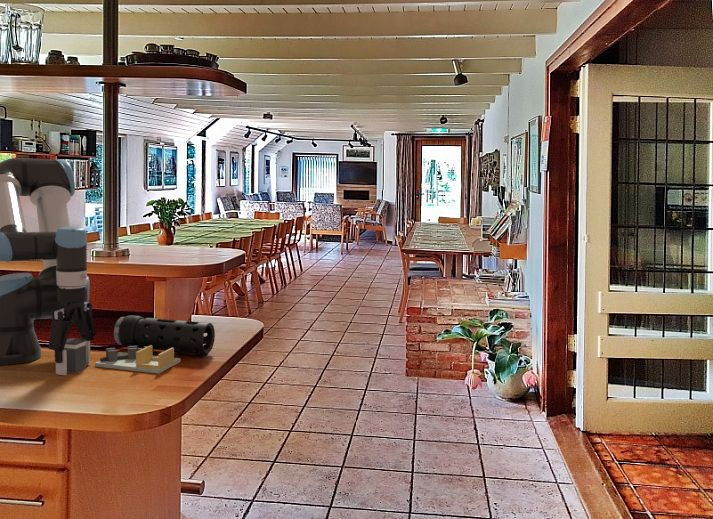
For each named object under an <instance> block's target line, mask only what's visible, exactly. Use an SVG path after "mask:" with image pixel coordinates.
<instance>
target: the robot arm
mask: <svg viewBox="0 0 713 519" xmlns="http://www.w3.org/2000/svg"><path fill="white" fill-rule="evenodd" d="M75 190H76V182H75V176H74V171H73V169H72V166H71V164H70V163H69V162H68V161H67V160H64V159H57V158H49V159H48V158H29V157H28V158H27V157H26V158H24V157H13V158H7V159H5V160H3V161H0V262H7V263H8V262H20V261H23V262H24V261H42V265H43V269H42V270H40V272H39V274H38V277H34V276H33V274H32V273H30V272H16V273H15V272H14V273H10V274H4V275H0V366H6V365H18V364H23V363H30V362H33V361H35V360H38V359H40V358H41V357H42V346H41V345H40V343H39V340H38V337H37V334H36V331H35V326H34V324H35V323H34V322H35V320H43V319H44V320H46V319H51V325H50V333H49V340H48V346H47V347H48V348H47V349H48V350H51V351H54V363H55V375H59V376H60V375H61V376H66V375H67V374H68V372H67V357H66V350H64V347H65V344H66V340H67V339H68V336H69V335H70V334H69V333H70V330H71V327H72V326H73V325H74V323H75V325H76V328H77V331H78V334H79V335H80V339H86V366H87V365H88V366H89V365H91V344H92V342H91V341H94V340H95V336H97V333H96V332H97V331H96V327H95V321H94V317H93V311H92V309H93V304H92V302H89V300H90V278H89V275H88V271H87V270H88V266H87V264H88V260H87V258H88V254H87V253H88V252H87V251H88V249H87V246H88V245H87V244H88V239H87V238H88V237H87V231H86V229H85V228H83V227H79V226H70V219H69V213H68V205H67V204H68V203H69V202H70V200H71V197H73V196H74V195H75V192H76V191H75ZM20 197H29V200H30V202H31V204H33V205H34V206H36V213H37V222H38V231H32V232H31V231H27V227H26V222H25V216H24V212H23V209H22V208H23V207H22V203H21V198H20Z"/></svg>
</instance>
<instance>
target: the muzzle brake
mask: <svg viewBox="0 0 713 519" xmlns="http://www.w3.org/2000/svg"><path fill="white" fill-rule="evenodd" d="M215 332H216V331H215V327H214V325H213V323H212V322H204V321H191V320H190V321H189V320H181V319H180V320H179V319H177V320H176V319H167V318H166V319H164V318H154V317H146V318H145V317H143V316H142V315H130V314H129V315H127V316H121V317H120V318H119V317H118V319H117V320H116V322H115V325H114V330H113V337H114V340H115V342H116V343H117V344H118V345H121V346H122V347H123V348H124V347H125V348H128V346H137V349H138V348H142V349H144V347H145V346H147V347H148V346H150V345H152V351H153V350H154V351H162V352H164V351H166V350H168V349H170V348H174V354H178V355H189V356H199V357H200V356H201V357H207V356H208V355H209V354H210V353H211V351H212V349H213V347H214V344H215V336H216V333H215ZM204 334H206V335H204Z"/></svg>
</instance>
